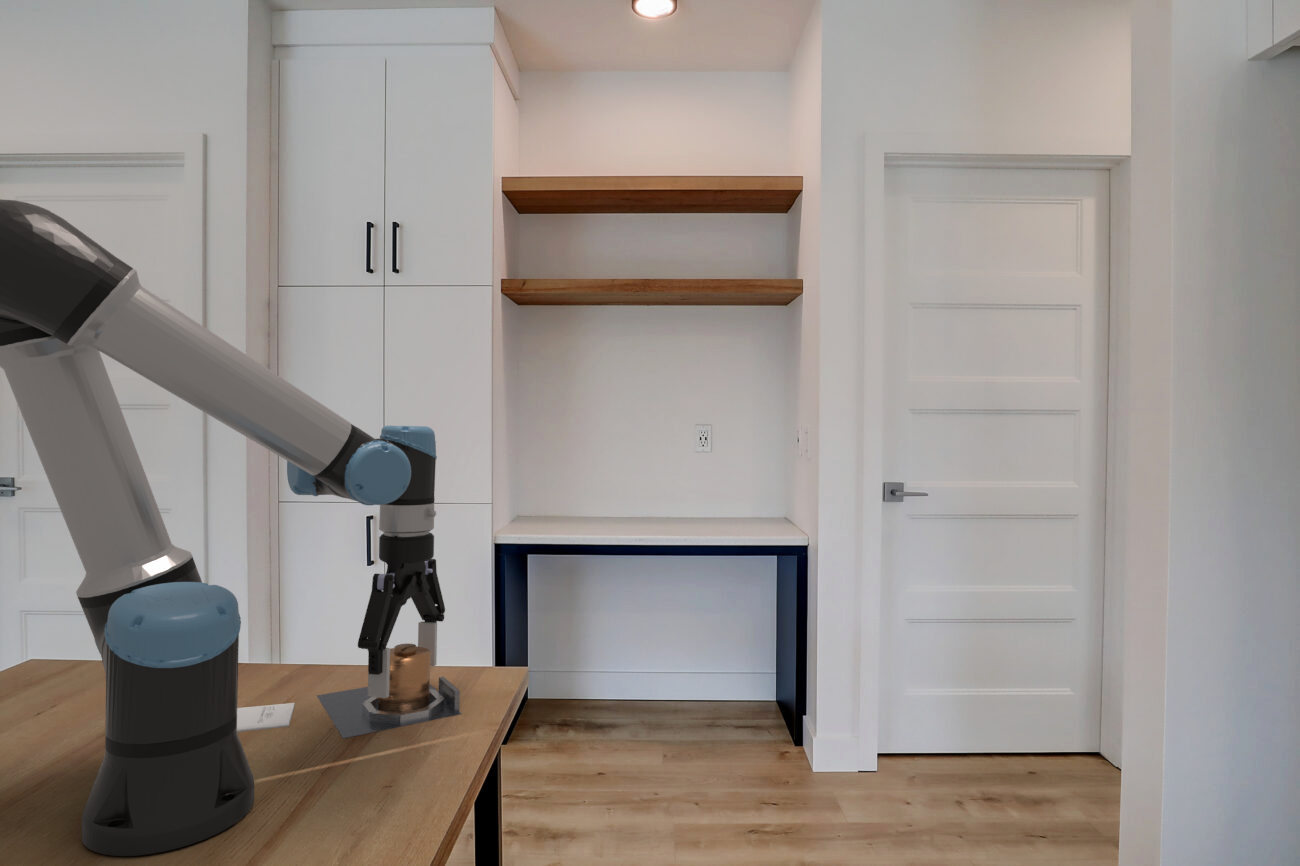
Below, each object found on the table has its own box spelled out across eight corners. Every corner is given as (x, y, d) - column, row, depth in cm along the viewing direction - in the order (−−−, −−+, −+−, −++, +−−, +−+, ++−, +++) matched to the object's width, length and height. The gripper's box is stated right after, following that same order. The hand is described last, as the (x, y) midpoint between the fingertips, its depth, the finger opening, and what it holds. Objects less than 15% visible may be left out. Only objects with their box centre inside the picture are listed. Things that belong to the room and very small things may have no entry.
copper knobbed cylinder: (428, 716, 105) (429, 652, 105) (375, 720, 103) (377, 655, 103) (430, 698, 111) (431, 638, 111) (380, 701, 110) (382, 640, 110)
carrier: (462, 717, 106) (462, 687, 106) (343, 741, 97) (343, 709, 97) (422, 680, 121) (423, 653, 121) (316, 698, 112) (317, 670, 112)
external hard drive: (196, 722, 104) (295, 711, 108) (182, 746, 96) (288, 734, 100) (196, 710, 104) (295, 700, 108) (182, 734, 96) (289, 722, 100)
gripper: (384, 547, 94) (381, 714, 94) (468, 523, 119) (465, 655, 119) (330, 544, 95) (327, 708, 96) (424, 521, 120) (422, 652, 120)
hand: (404, 679), depth 107 cm, fingers open, 13 cm apart
